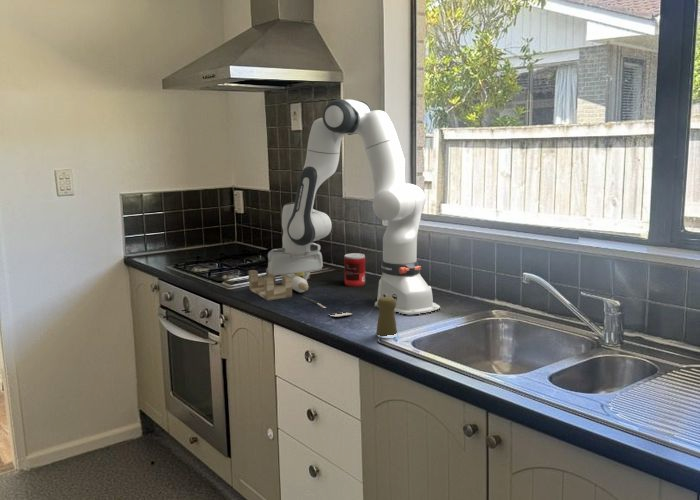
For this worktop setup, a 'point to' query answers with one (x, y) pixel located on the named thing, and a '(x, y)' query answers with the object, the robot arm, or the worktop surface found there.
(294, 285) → the roll
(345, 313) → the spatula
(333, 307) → the worktop surface
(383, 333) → the olive green tall figure
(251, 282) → the holder
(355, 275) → the canned food
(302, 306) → the worktop surface
